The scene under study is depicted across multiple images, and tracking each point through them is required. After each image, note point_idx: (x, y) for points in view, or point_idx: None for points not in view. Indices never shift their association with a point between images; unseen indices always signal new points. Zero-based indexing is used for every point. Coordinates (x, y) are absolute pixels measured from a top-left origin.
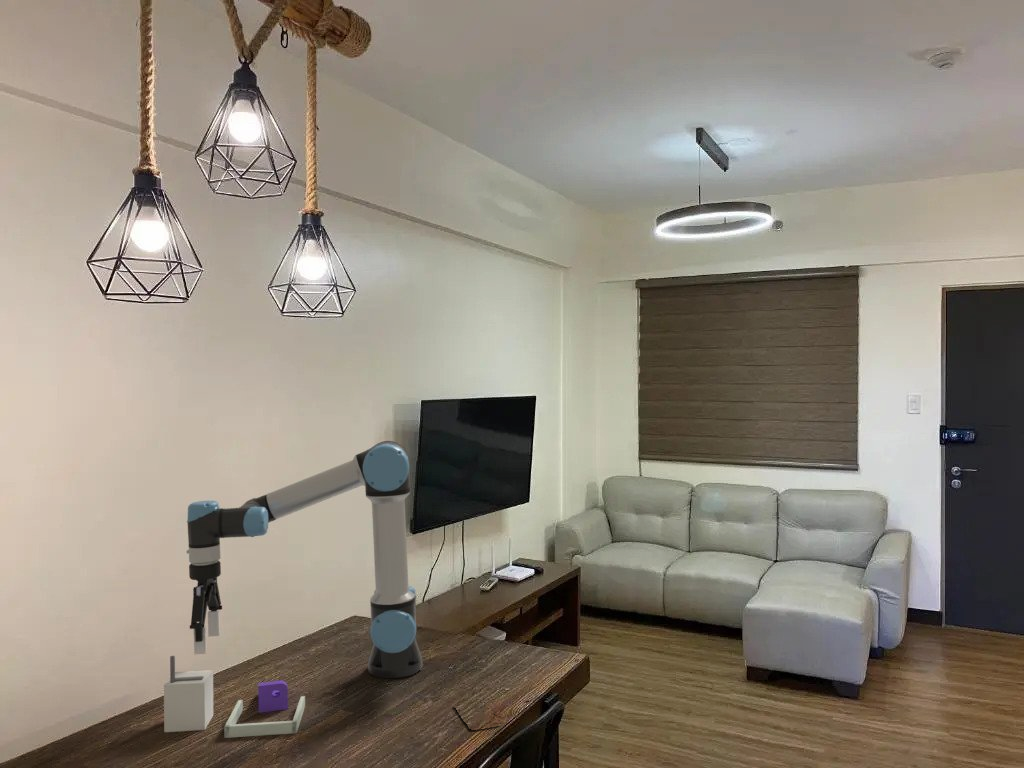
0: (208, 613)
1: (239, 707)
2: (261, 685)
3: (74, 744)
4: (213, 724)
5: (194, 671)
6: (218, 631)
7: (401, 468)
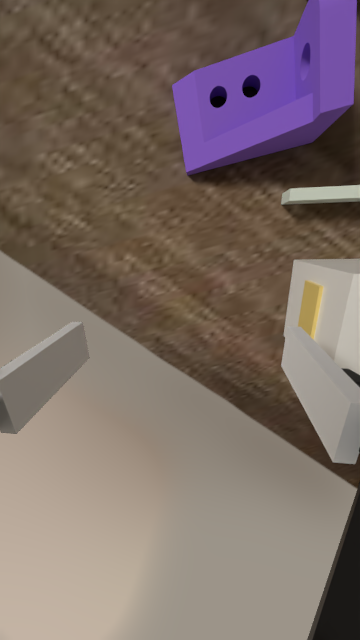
0: (21, 423)
1: (333, 187)
2: (350, 91)
3: None
4: (348, 246)
5: (345, 335)
6: (73, 330)
7: None
